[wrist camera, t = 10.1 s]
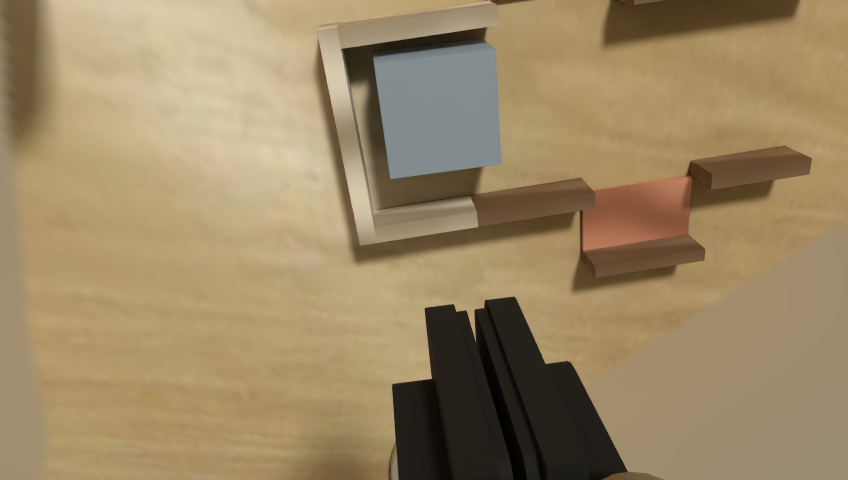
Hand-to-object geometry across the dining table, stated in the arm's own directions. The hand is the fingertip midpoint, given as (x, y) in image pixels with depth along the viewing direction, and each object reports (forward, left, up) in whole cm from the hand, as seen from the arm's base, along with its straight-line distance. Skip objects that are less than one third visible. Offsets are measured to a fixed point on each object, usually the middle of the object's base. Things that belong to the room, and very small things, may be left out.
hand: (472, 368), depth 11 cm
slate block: (-1, -2, -25) cm, 25 cm away
